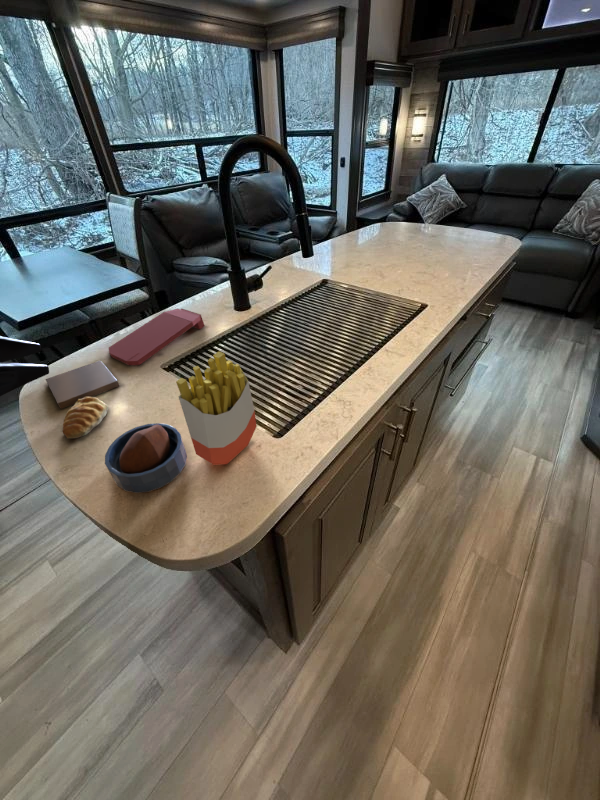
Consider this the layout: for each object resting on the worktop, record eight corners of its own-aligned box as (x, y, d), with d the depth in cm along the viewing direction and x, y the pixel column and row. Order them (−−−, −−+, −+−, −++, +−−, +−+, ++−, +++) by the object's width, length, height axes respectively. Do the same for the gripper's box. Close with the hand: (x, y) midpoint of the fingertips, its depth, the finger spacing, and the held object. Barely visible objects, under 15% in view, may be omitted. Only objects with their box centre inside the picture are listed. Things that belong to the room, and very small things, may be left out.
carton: (141, 378, 84) (209, 327, 98) (132, 363, 80) (204, 312, 94) (113, 364, 89) (181, 318, 103) (103, 350, 86) (175, 303, 99)
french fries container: (259, 437, 62) (249, 354, 51) (217, 475, 55) (194, 389, 44) (241, 427, 64) (227, 345, 53) (198, 463, 57) (172, 378, 46)
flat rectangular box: (61, 409, 69) (57, 403, 68) (48, 384, 76) (45, 379, 76) (119, 386, 76) (117, 380, 75) (103, 365, 83) (100, 360, 82)
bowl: (130, 508, 51) (119, 490, 48) (105, 464, 58) (95, 446, 55) (199, 467, 57) (194, 449, 54) (169, 431, 64) (163, 414, 61)
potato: (186, 454, 58) (177, 427, 54) (141, 492, 52) (127, 465, 48) (159, 439, 61) (149, 413, 57) (114, 473, 55) (99, 447, 51)
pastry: (92, 440, 62) (84, 425, 60) (55, 442, 62) (45, 427, 59) (111, 408, 69) (104, 393, 67) (78, 410, 69) (70, 395, 67)
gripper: (-188, 312, 28) (46, 318, 38) (-136, 274, 40) (30, 286, 50) (-142, 427, 32) (56, 405, 42) (-108, 361, 44) (39, 356, 54)
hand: (44, 357), depth 47 cm, fingers open, 9 cm apart
